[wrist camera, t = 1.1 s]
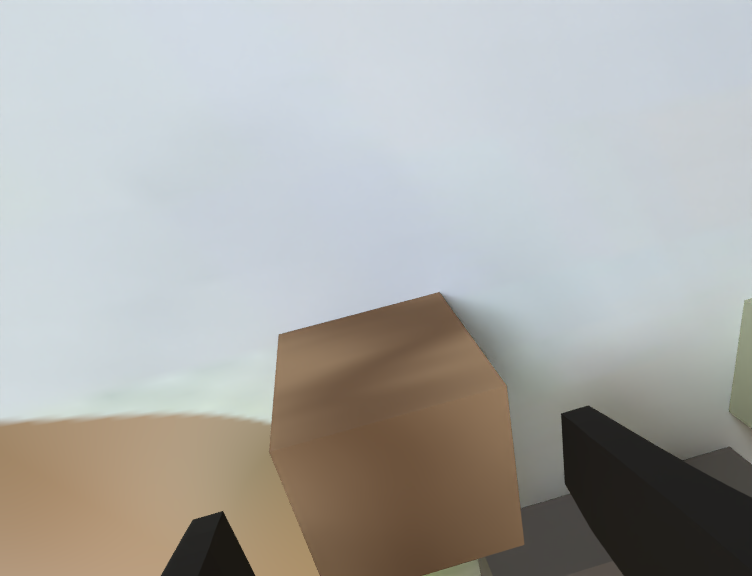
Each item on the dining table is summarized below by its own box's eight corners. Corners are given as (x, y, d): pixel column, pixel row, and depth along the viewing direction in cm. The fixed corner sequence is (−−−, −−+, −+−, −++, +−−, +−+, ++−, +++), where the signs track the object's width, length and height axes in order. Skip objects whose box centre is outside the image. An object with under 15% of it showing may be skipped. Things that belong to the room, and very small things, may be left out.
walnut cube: (438, 290, 13) (506, 386, 8) (460, 417, 14) (524, 544, 10) (278, 333, 12) (268, 452, 8) (321, 455, 14) (331, 603, 10)
